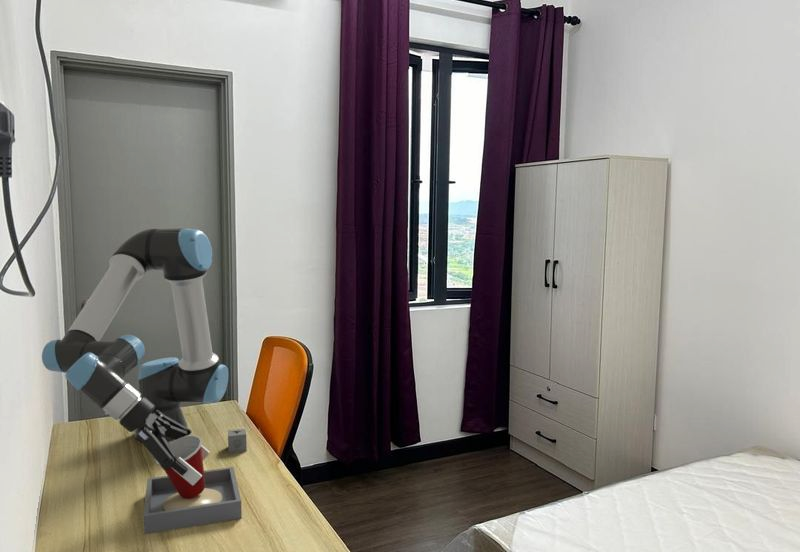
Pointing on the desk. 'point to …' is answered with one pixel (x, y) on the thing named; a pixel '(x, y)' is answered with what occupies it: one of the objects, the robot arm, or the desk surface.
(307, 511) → the desk surface
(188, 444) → the plastic cup
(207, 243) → the robot arm
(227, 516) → the grey square tray
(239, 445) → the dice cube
